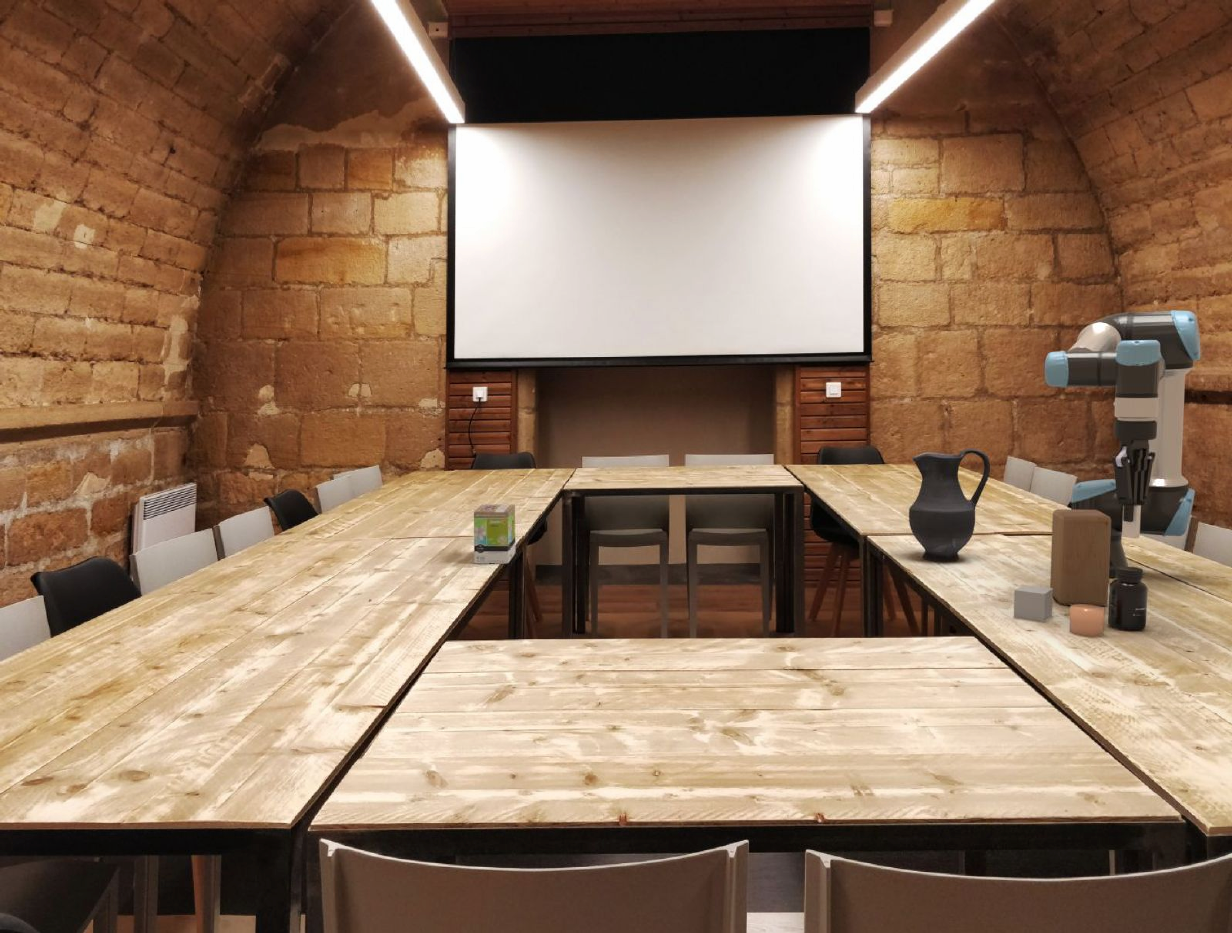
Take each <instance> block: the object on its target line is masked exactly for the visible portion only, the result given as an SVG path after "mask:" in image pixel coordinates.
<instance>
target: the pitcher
mask: <svg viewBox="0 0 1232 933" xmlns="http://www.w3.org/2000/svg"><path fill="white" fill-rule="evenodd" d="M969 454H974V455H976V456H977V457H980V459H981V460H982V461H983V474H982V477H981V479H980V481H979V483H978V485H977V487H976V489H975V491H974V493H973V494H972V497H971V498H970V499H967V498H966V496H965V494H964V491H963V489H962V487H961V484H960V481H959V468H960V465H961V462H962V460H963V459H964V458H965V456H967V455H969ZM912 461H913V463H914V465H915V466H916V468H917V469H918V472H919V473H920V475H921V478H922V479H921V484H920V488H919V492H918V495H917V497H916V499H915V500H914V502H913V503H912V505H911V506H909V509H908V522H909V527H910V530H911V532H912V534H913V536H914V538H915V539H916V540H917V542H918V543H919V544H920V545H921V546H922V548H923V549H924V552H923V554H922V555H921V558H922V559H924V560H927V561H931V562H938V563H939V562H940V563H941V562H942V563H949V562H951V563H953V562H958V561H959V560H960V556H959V554H958V553H959V552H960V551H961V550H962V549H963V548H964V547H965V546H966V545H967V544H968V543H969V542H970V540H971V538H972V537H973V534H974V531H975V525H976V507H977V504H978V503H979V500H980V497H981V496H982V493H983V491H984V489H985V487H986V484H987V481H988V480H989V476H990V472H991V463H990V459H989V458H988V456H987V454H986V453H984V452H983V451H981V450H979V449H977V448H967V449H963V450H962V451H960V452H959V454H954V453H953V454H952V453H936V452H924V453H920V454H918V455H915V456H913V457H912Z"/></svg>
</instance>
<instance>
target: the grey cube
mask: <svg viewBox="0 0 1232 933" xmlns="http://www.w3.org/2000/svg"><path fill="white" fill-rule="evenodd" d="M1013 595H1014V596H1013V597H1014V598H1013V618H1014V619H1021V620H1027V621H1034V622H1039V623H1040V622H1042V623H1045V622H1046V621H1048V620H1049V619H1050V618H1051V617H1053V598H1054V597H1053V588H1050V587H1045V586H1044V587H1043V586H1037V585H1029V584H1022V585H1020V586H1019V587H1017V588H1015V589H1014V593H1013Z"/></svg>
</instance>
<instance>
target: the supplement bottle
mask: <svg viewBox="0 0 1232 933" xmlns="http://www.w3.org/2000/svg"><path fill="white" fill-rule="evenodd" d="M1115 576H1116V577H1115V578H1116V579H1113V580H1112V581H1110V583H1109V587H1108V610H1107V611H1108V612H1107V624H1108V626H1109V627H1111V628H1114V629H1116V630H1121V631H1129V632H1140V631H1143V630H1145V629H1146V626H1147V616H1148V615H1147V614H1148V613H1147V612H1148V596H1149V595H1148V594H1149V593H1148V592H1149V587H1148V585H1147V584H1146V583H1145V582H1143V581H1142V580H1143V579H1144V569H1142V568H1140V567H1136V566H1129V565H1128V566H1120V567H1117V568H1116V574H1115Z"/></svg>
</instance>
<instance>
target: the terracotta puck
mask: <svg viewBox="0 0 1232 933" xmlns="http://www.w3.org/2000/svg"><path fill="white" fill-rule="evenodd" d="M1069 606H1070V607H1069V608H1070V609H1069V633H1070V634H1071V635H1072V634H1073V635H1076V636H1080V637H1089V638H1090V637H1091V638H1097V637H1102V636H1104V624H1105V623H1104V622H1105V608H1104V607H1103V606H1094V605H1086V604H1076V605H1069Z"/></svg>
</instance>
